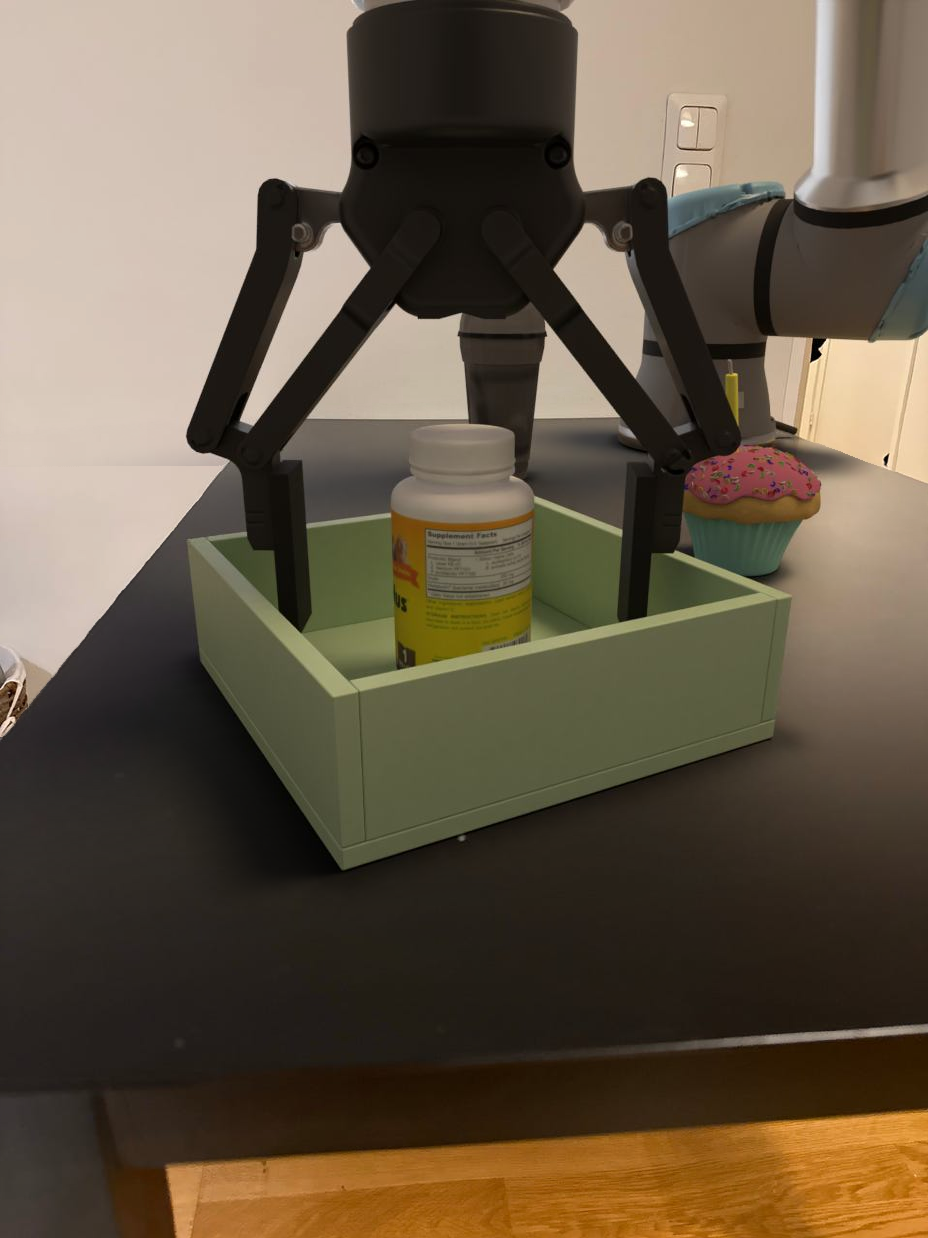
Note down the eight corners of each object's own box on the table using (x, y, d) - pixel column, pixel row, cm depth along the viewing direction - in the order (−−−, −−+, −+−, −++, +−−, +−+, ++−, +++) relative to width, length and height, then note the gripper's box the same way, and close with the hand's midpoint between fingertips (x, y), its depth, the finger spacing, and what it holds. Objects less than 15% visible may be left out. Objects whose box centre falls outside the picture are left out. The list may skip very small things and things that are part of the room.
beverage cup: (537, 487, 74) (545, 217, 67) (449, 483, 76) (447, 218, 69) (548, 469, 81) (556, 221, 74) (466, 465, 82) (466, 222, 75)
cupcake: (730, 595, 50) (755, 368, 46) (634, 554, 57) (648, 354, 53) (842, 573, 54) (875, 361, 50) (739, 537, 61) (760, 348, 57)
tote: (528, 599, 50) (531, 493, 48) (773, 737, 35) (793, 595, 33) (200, 662, 42) (186, 539, 40) (341, 872, 27) (332, 696, 25)
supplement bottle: (408, 649, 41) (404, 417, 38) (533, 656, 41) (541, 421, 37) (382, 704, 36) (373, 442, 32) (524, 713, 35) (532, 447, 32)
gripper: (27, -14, 27) (125, 660, 34) (900, -21, 26) (801, 668, 34) (124, 43, 34) (187, 592, 41) (814, 39, 33) (747, 598, 41)
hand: (462, 627), depth 38 cm, fingers open, 13 cm apart
